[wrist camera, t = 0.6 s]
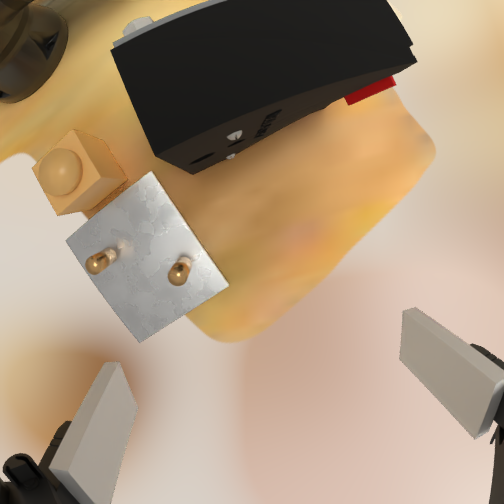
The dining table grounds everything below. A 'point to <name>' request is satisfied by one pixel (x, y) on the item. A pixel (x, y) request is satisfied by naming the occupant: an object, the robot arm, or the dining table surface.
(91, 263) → the amber glass cylinder
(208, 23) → the electrical component
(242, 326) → the dining table surface
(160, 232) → the plate
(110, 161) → the cube with dome knob
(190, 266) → the brass rounded peg
